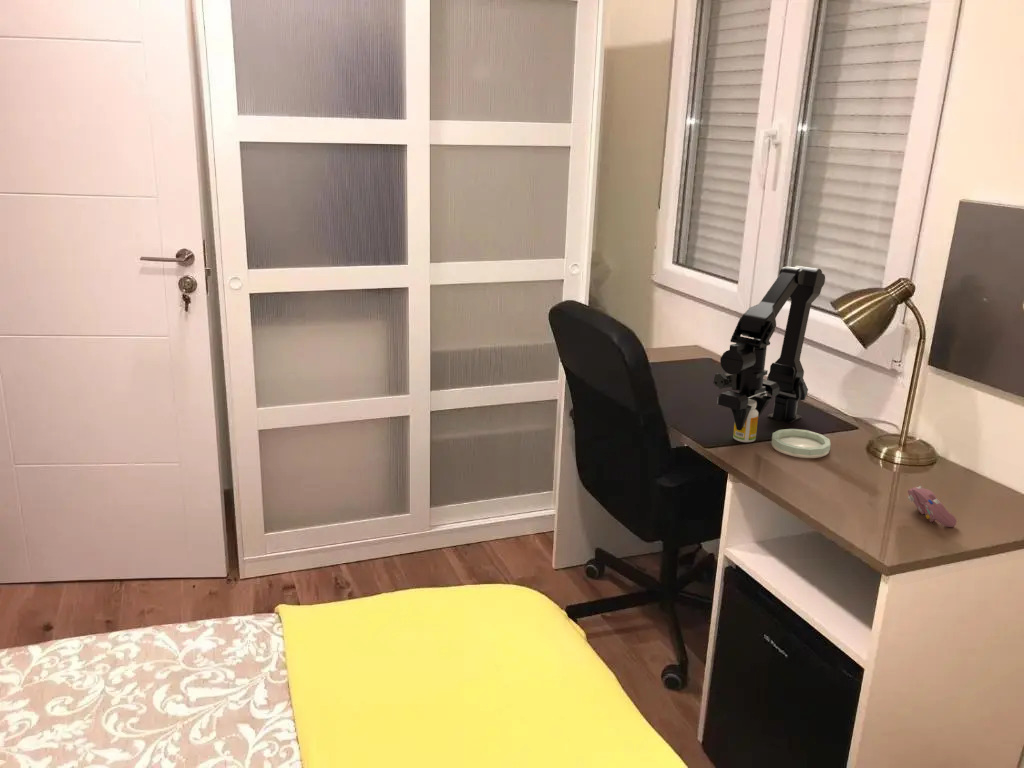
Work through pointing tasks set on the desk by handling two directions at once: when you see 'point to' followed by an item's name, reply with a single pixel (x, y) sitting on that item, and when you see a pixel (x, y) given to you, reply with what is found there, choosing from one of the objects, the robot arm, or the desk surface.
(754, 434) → the supplement bottle
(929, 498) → the video game controller
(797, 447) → the round dish
